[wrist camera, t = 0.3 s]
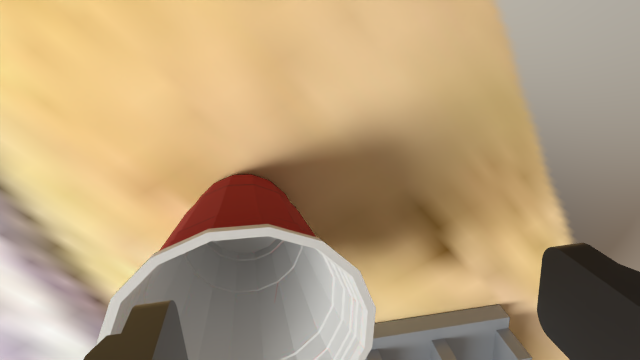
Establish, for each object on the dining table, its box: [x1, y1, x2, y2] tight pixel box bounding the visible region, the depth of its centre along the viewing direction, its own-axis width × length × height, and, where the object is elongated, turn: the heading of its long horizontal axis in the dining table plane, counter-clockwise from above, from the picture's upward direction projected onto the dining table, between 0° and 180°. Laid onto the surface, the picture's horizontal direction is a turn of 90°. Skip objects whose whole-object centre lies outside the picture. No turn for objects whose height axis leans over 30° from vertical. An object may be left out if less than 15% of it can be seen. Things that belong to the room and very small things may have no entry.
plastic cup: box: [96, 174, 376, 360], centre depth 23 cm, size 11×11×12 cm
